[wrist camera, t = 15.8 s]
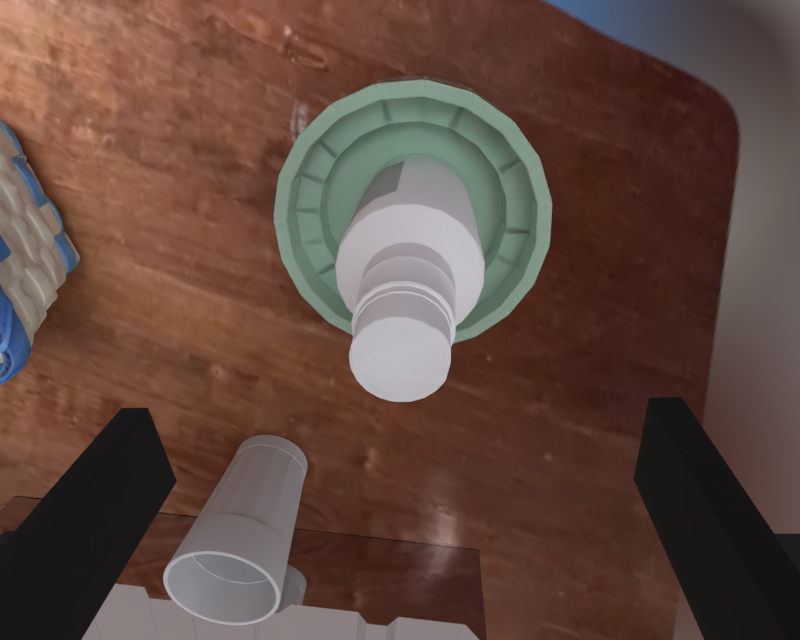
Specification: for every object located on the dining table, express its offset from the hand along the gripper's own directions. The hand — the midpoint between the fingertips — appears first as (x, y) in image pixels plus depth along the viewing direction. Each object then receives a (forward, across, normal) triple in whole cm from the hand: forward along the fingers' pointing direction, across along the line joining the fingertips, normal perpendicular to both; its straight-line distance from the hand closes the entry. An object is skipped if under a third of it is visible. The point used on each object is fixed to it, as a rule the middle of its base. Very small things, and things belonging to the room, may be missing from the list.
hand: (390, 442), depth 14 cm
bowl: (+22, 0, 0) cm, 22 cm away
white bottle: (+22, 0, 0) cm, 22 cm away
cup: (+22, -14, -22) cm, 34 cm away
